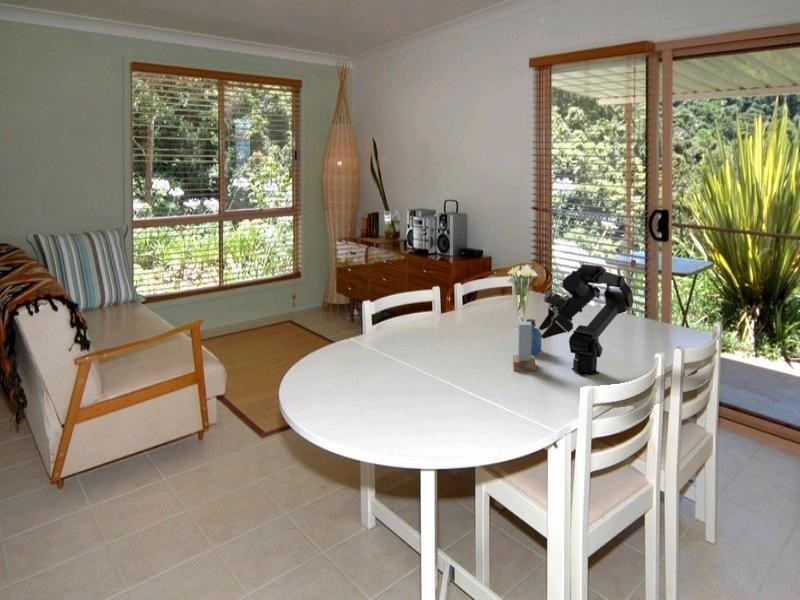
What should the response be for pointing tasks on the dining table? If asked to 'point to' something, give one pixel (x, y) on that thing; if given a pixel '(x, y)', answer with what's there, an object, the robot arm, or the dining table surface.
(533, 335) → the perfume bottle
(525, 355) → the slate-blue post
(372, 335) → the dining table surface
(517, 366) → the walnut plinth
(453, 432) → the dining table surface
